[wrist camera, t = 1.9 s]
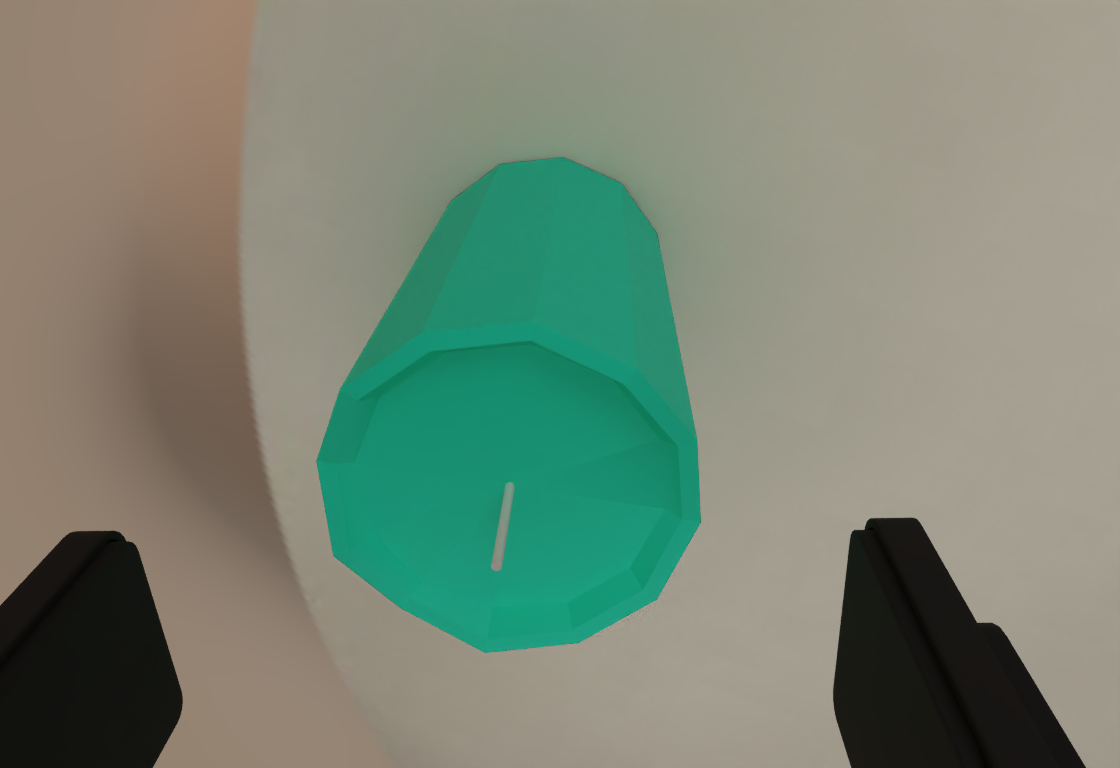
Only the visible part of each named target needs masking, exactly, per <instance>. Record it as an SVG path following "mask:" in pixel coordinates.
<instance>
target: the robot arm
mask: <svg viewBox="0 0 1120 768" xmlns="http://www.w3.org/2000/svg"><path fill="white" fill-rule="evenodd" d="M833 701H834V710H835V715H836V719H837V723H838V726H839V729H840V733H841V736H842V739H843V742H844V746H845V749H846V752H847V755H848V758H849V762H850V765H851V768H1086V767H1085V765H1084V764H1083V762H1082V760H1081V759H1080V757H1079V756H1078V754H1077V752H1076V751H1075V749H1074V747H1073V746H1072V744H1071V742H1070V741H1069V739H1068V737H1067V736H1066V734H1065V732H1064V731H1063V729H1062V727H1061V726H1060V724H1059V722H1058V721H1057V719H1056V717H1055V716H1054V714H1053V712H1052V711H1051V709H1050V707H1049V706H1048V704H1047V702H1046V701H1045V699H1044V697H1043V696H1042V694H1041V692H1040V691H1039V689H1038V687H1037V686H1036V684H1035V682H1034V681H1033V679H1032V677H1031V676H1030V674H1029V672H1028V671H1027V669H1026V667H1025V666H1024V664H1023V662H1022V661H1021V659H1020V657H1019V656H1018V654H1017V652H1016V651H1015V649H1014V647H1013V646H1012V644H1011V642H1010V641H1009V639H1008V638H1007V636H1006V635H1005V633H1004V632H1003V631H1002V630H1001V628H1000V627H999V626H997V625H995V624H993V623H977V622H976V620H975V618H974V617H973V615H972V613H971V611H970V609H969V608H968V606H967V604H966V602H965V601H964V599H963V597H962V595H961V594H960V592H959V590H958V588H957V587H956V585H955V583H954V581H953V580H952V578H951V576H950V574H949V573H948V571H947V569H946V567H945V566H944V564H943V562H942V560H941V559H940V557H939V555H938V553H937V551H936V550H935V548H934V546H933V544H932V543H931V541H930V539H929V537H928V536H927V534H926V532H925V530H924V529H923V527H922V525H921V523H920V522H919V521H918V520H917V519H916V518H870V519H869V520H868V521H867V523H866V526H865V530H854V531H853V532H852V534H851V538H850V544H849V553H848V562H847V571H846V580H845V589H844V598H843V607H842V616H841V625H840V634H839V643H838V652H837V661H836V670H835V678H834V688H833ZM182 704H183V699H182V691H181V688H180V685H179V681H178V678H177V675H176V672H175V668H174V665H173V662H172V659H171V655H170V652H169V649H168V646H167V642H166V639H165V636H164V633H163V629H162V626H161V623H160V620H159V617H158V613H157V610H156V607H155V604H154V600H153V597H152V594H151V590H150V587H149V584H148V581H147V577H146V574H145V571H144V567H143V564H142V561H141V558H140V555H139V551H138V549H137V547H136V545H135V544H134V543H132V542H126V540H125V538H124V536H122V534H121V533H119V532H117V531H76V532H72V533H69V534H68V535H66V536H65V537H64V538H63V539H62V540H61V541H60V542H59V543H58V544H57V545H56V546H55V548H54V549H53V550H52V551H51V552H50V553H49V554H48V555H47V556H46V557H45V558H44V559H43V560H42V562H41V563H40V564H39V565H38V566H37V567H36V568H35V569H34V570H33V571H32V572H31V573H30V574H29V575H28V577H27V578H26V579H25V580H24V581H23V582H22V583H21V584H20V585H19V586H18V587H17V588H16V589H15V591H14V592H13V593H12V594H11V595H10V596H9V597H8V598H7V599H6V600H5V601H4V602H3V603H2V604H1V606H0V768H153V766H154V764H155V762H156V761H157V759H158V757H159V755H160V753H161V752H162V750H163V748H164V746H165V744H166V743H167V741H168V739H169V737H170V735H171V733H172V732H173V730H174V728H175V726H176V725H177V723H178V720H179V718H180V715H181V711H182Z"/></svg>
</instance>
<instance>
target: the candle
mask: <svg viewBox="0 0 1120 768" xmlns="http://www.w3.org/2000/svg"><path fill="white" fill-rule="evenodd" d="M317 467H318V472H319V478H320V484H321V489H322V495H323V500H324V506H325V512H326V517H327V523H328V529H329V534H330V540H331V545H332V551H333V556H334V557H335V558H337V559H338V560H339V561H341V562H342V563H343V564H345V565H346V566H347V567H348V568H350V569H351V570H352V571H354V572H355V573H356V574H357V575H359V576H360V577H361V578H363V579H364V580H365V581H366V582H368V583H369V584H370V585H372V586H373V587H374V588H375V589H377V590H378V591H379V592H381V593H382V594H383V595H384V596H386V597H387V598H388V599H390V600H391V601H392V602H394V603H395V604H396V605H397V606H399V607H400V608H401V609H403V610H405V611H407V612H409V613H411V614H413V615H415V616H416V617H418V618H420V619H422V620H424V621H426V622H428V623H430V624H432V625H434V626H435V627H437V628H439V629H441V630H443V631H445V632H447V633H449V634H451V635H452V636H454V637H456V638H458V639H460V640H462V641H464V642H466V643H468V644H469V645H471V646H473V647H475V648H477V649H479V650H481V651H483V652H485V653H489V652H498V651H507V650H517V649H526V648H536V647H545V646H554V645H564V644H573V643H579V642H581V641H583V640H585V639H587V638H588V637H590V636H592V635H594V634H595V633H597V632H599V631H601V630H603V629H604V628H606V627H608V626H610V625H612V624H613V623H615V622H617V621H619V620H621V619H622V618H624V617H626V616H628V615H630V614H631V613H633V612H635V611H637V610H639V609H640V608H642V607H644V606H646V605H648V604H649V603H651V602H653V601H655V600H657V598H658V596H659V595H660V593H661V591H662V589H663V588H664V586H665V584H666V582H667V581H668V579H669V577H670V575H671V574H672V572H673V570H674V568H675V567H676V565H677V563H678V561H679V560H680V558H681V556H682V554H683V553H684V551H685V549H686V547H687V546H688V544H689V542H690V540H691V539H692V537H693V535H694V533H695V532H696V530H697V528H698V526H699V525H700V523H701V513H700V491H699V469H698V446H697V436H696V431H695V426H694V421H693V416H692V411H691V406H690V401H689V395H688V390H687V385H686V380H685V375H684V370H683V365H682V359H681V354H680V349H679V344H678V339H677V334H676V329H675V323H674V318H673V313H672V308H671V303H670V298H669V293H668V287H667V282H666V277H665V272H664V267H663V262H662V257H661V251H660V246H659V241H658V236H657V233H656V231H655V230H654V228H653V227H652V226H651V224H650V223H649V221H648V220H647V219H646V217H645V216H644V214H643V213H642V212H641V210H640V209H639V207H638V206H637V204H636V203H635V202H634V200H633V199H632V197H631V196H630V195H629V193H628V192H627V190H626V189H625V188H624V186H623V185H622V183H620V182H617V181H615V180H613V179H611V178H608V177H606V176H604V175H602V174H600V173H597V172H595V171H593V170H591V169H588V168H586V167H584V166H582V165H579V164H577V163H575V162H573V161H570V160H568V159H566V158H564V157H562V158H552V159H543V160H534V161H524V162H515V163H506V164H500V165H498V166H497V167H496V168H494V169H493V170H492V171H490V172H489V173H488V174H486V175H485V176H484V177H482V178H481V179H480V180H478V181H477V182H476V183H474V184H473V185H472V186H470V187H469V188H468V189H466V190H465V191H464V192H462V193H461V194H460V195H459V196H457V197H456V198H455V199H453V200H452V201H451V202H450V204H449V206H448V207H447V209H446V211H445V212H444V214H443V216H442V217H441V219H440V221H439V223H438V224H437V226H436V228H435V229H434V231H433V233H432V234H431V236H430V238H429V239H428V241H427V243H426V245H425V246H424V248H423V250H422V251H421V253H420V255H419V256H418V258H417V260H416V261H415V263H414V265H413V267H412V268H411V270H410V272H409V273H408V275H407V277H406V278H405V280H404V282H403V283H402V285H401V287H400V289H399V290H398V292H397V294H396V295H395V297H394V299H393V300H392V302H391V304H390V305H389V307H388V309H387V311H386V312H385V314H384V316H383V317H382V319H381V321H380V322H379V324H378V326H377V327H376V329H375V331H374V333H373V334H372V336H371V338H370V339H369V341H368V343H367V344H366V346H365V348H364V349H363V351H362V353H361V355H360V356H359V358H358V360H357V361H356V363H355V365H354V366H353V368H352V370H351V371H350V373H349V375H348V377H347V378H346V380H345V382H344V383H343V385H342V387H341V388H340V391H339V394H338V397H337V400H336V403H335V406H334V409H333V412H332V415H331V418H330V421H329V424H328V427H327V430H326V434H325V437H324V440H323V443H322V446H321V449H320V452H319V455H318V458H317Z"/></svg>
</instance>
